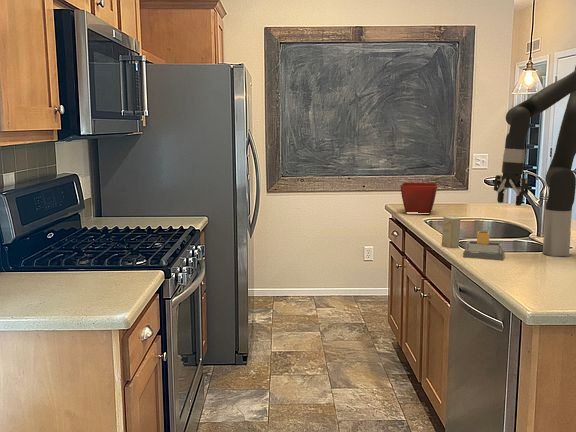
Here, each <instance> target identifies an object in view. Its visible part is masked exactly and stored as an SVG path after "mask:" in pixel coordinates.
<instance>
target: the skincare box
mask: <svg viewBox="0 0 576 432" xmlns="http://www.w3.org/2000/svg"><path fill="white" fill-rule="evenodd" d="M442 218H443V219H442V221H443V222H442V234H441V246H443V247H446V248H449V249H456V248H460V247H459V246H460V232H461V217H457V216H452V215H451V216H450V215H449V216H448V215H447V216H443V217H442Z"/></svg>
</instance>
